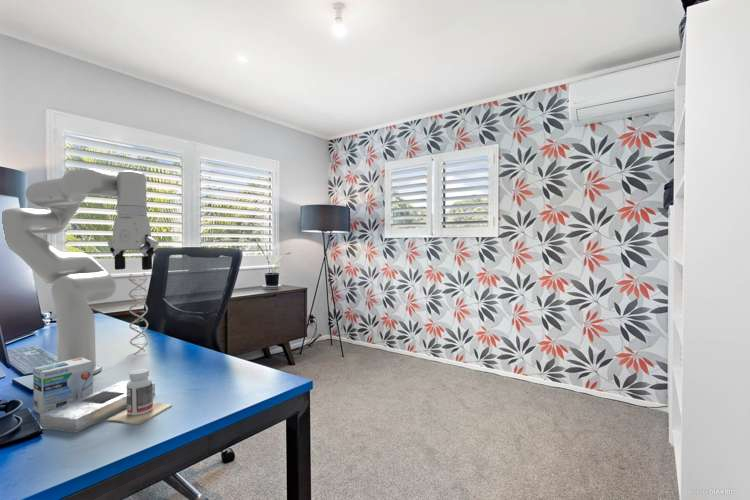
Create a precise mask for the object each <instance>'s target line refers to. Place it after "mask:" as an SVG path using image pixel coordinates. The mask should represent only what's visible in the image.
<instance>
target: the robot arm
mask: <svg viewBox="0 0 750 500" xmlns="http://www.w3.org/2000/svg"><path fill="white" fill-rule="evenodd" d="M24 193H25V198H26V199H27V201H28V202H29V203H31V205H34V206H36V207H39V208H42V209H39V208H28V207H27V208H25V207H15V208H14V207H13V208H7V209H4V210H2V211H3V212H2V211H1V212H2V224H3V230H4V234H5V240H6V243H7V245H8V247H9V248H8V247H7V248H8V249H9V250H10V251H11V252H13V253H15V255H17V256H18V257H20V259H22V260H23V261H24V263H25V264H26V265H27V266H28V267H30V269H31V270H32V271H34V273H35V274H36V275H38V276H39V278H41V280H44V281H45V282H47V283H52V285H51V290H50V291H51V296H52V300H53V303H54V307H55V308H54V309H55V318H56V319H55V320H56V338H57V339H56V343H57V345H56V346H57V349H56V350H57V354H56V355H57V359H55V361H52V362H51V364H54V363H58V362H63V361H68V360H72V359H77V358H81V357H82V358H85V359H87V360H90V361H92V362H93V375H96V374H98V373H99V372H101V371H102V369H103V368H102V367H103V365H101V364H100V363H97V361H96V360H97V359H96V358H97V357H96V356H97V355H96V350H97V349H96V322H95V320H96V319H95V313H94V312H93V310H92V308H91V307H90V305H89V304H88V303H91V302H92V303H93V302H97V301H99V302H100V301H103V300H106V299H109V298H111V297H112V296H114V294H115V293H116V290H117V284H116V280H115V278H114V277H113V276H112V274H110V273H109V271H107V270H106V269H105V268H104V267H103V266H102V265H101V263H99V262H98V261H97V260H96V259H95V258H94V257H92V256H91V255H89V254H87V253H84V252H80V251H79V252H78V251H77V252H75V251H72V252H70V251H69V252H63V251H60V250H58V249H56V248H55V247H54V246H53V244H51V243H50V241H47V240H46V239H44V238H42V237H41V236H42V235H45V236H46V235H50V236H52V235H57V234H60V233H61V232H62V231H63V230H65V229H66V227H67V226H68V224H69V222H70V221H71V220H72V219H73V217H74V215H76V212H77V211H78V209H79V208H80V206H81V204H82V202H84V201H85V200H86V198H87V196H89V195H91V196H100V197H109V198H116V201H117V202H116V203H117V204H116V205H117V207H116V211H115V212H116V214H117V217H115V218H114V222H113V228H112V239H111V240H109V241H107V245H108V248H109V251H110V253H111V254H112V256H113V257H114V270H116V271H117V270H118V271H119V270H125V269H126V256H125V253H126V252H127V251H140V253H141V254H142V255H143V256H141V269H142V270H143V271H147V270H152V269H153V257H155V256H154V255H155V252H157V249H158V247H159V244H160V242H159V241H158V240H156V239H155V238H153V237H152V232H151V230H152V229H151V225H150V220H149V217H148V215H147V214H148V211H147V209H148V207H147V206H148V204H147V176H146V175H145V174H144V173H143V172H141V171H133V170H121V171H118V172H111V171H107V170H104V169H103V170H102V169H96V168H82V169H81V168H80V169H75V170H70V171H69V170H68V171H67V172H65V174H63V176H62V177H58V178H52V179H47V180H46V179H44V180H40V181H37V182H33V183H31V184H30V185H28V186H27V188H26V189H25V192H24ZM43 208H45V209H43ZM38 235H39V236H38ZM40 235H41V236H40Z"/></svg>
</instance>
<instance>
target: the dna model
mask: <svg viewBox="0 0 750 500" xmlns="http://www.w3.org/2000/svg"><path fill="white" fill-rule="evenodd" d="M143 275H144V277H145V278H143V279H138V281H142V282H141V283H139V284H138V283H137V282H135V281H134V280H133V279H131V277H132V276H133V274H132V273H131V274H129V275H128V279H127V280H128V281H129V282H130V283H132V284H134V285H135V286H136V287H134V288H132V289H131V290H130V291H129V293H128V296H129V297H130V298H131V299H133V300H134V301H136V303H134V304H133V305H130V307H129V309H128V311H129V313H131V315H134V316H135V317H137V318H135V320H134V321H131V322H130V323H129V326H128V327H129V329H131V330H132V331H135V332H136V333H138V334H137V335H135V336H134V337H132V338H131V339H130V341H129V344H130V345H131V346H134V347H136V348H138V350H137V351H136V352H135V353H133V356H135V355H137V354H138V353H140V352H141V351H144V352H146V349H144V348H146V347H147V345H148V343H149V337H148V336H147V334H145V333H144V332H146V330H147V329H148V328H149V322H148V321H147V320H146V318H144V316H145V315H146V314H147V313H148V310H149V308H148V306H147V303H146V302H143V300H145V299H146V298H147V296H148V291H147V289H146V287H144V286H142V285H144V284H145V283H146V282H147V280H148V276H147V274H146V273H145V272H143ZM138 290H139V291H140V290H143V291H145V295H143V294H142V295H141V294H140V295H135V294H134V296H133V295H132V293H133V291H138ZM136 297H142V299H140V300H139V299H138V298H136ZM140 303H141V304H140ZM140 306H144V307H145V310H143V311H139V313H143V314H141V315H139V314H137V313H136V312H134V311H132V309H133V308H134V307H140ZM140 319H141V320H140ZM143 321H144V322H145V324H146V326H145V327H139V329H143V330H142V331H140V330H137V328H135V327H132V325H133V324H135V323H139V322H143ZM141 335H142V336H141ZM144 337H145V339H146V341H145V343H144V344H143V346H139V343H133V340H137V339H139V338H144Z"/></svg>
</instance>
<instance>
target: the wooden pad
mask: <svg viewBox="0 0 750 500" xmlns="http://www.w3.org/2000/svg"><path fill="white" fill-rule="evenodd" d="M172 406H173V404H172V403H171V404H170V403H159V402H153V408H152V410H151V411H149V412H147V413H145V414H141V415H135V416H132V415H128V414H127V408H125V409H123V410H121V411H119V412H117V413H115V414H113V415H111V416H109V417H107V418H106V421H107V422H113V423H122V424H132V425H141V424H143V423H146V422H147V421H148V420H151V419H152V418H154V417H156V416H157V415H158V414H160V413H162V412H164V411H166V410H168V409H170V408H172Z"/></svg>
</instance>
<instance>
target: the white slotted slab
mask: <svg viewBox="0 0 750 500" xmlns="http://www.w3.org/2000/svg"><path fill="white" fill-rule="evenodd" d="M129 381H130V380H125V379H124V380H122V381H118V382H117V383H115V384H112V385H110V386H106V387H104V388H102V389H100V390H98V391H94V392H93V393H92V394H90V395H87V396H85V397H82V398H80V399H78V400H75V401H73V402H70V403H68V404H66V405H63V406H61V407H58V408H56V409H53V410H51V411H49V412H46V413H44V414H39V426H41V427H42V428H43V429H42V430H50V431H59V432H65V433H76V434H77V433H79V432H82V431H83V430H86V429H87V428H89V427H91V426H93V425H95V424H97V423H100V422H101V421H103V420H105V419H108V418H110V417H112V416H114V415H116V414H118V413H120V412H122V411H124V410H126V409H127V393H126V385H127V383H128V382H129ZM155 384H156V382H152V392H153V395H155V394H156V389H155V388H156V385H155Z"/></svg>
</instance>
